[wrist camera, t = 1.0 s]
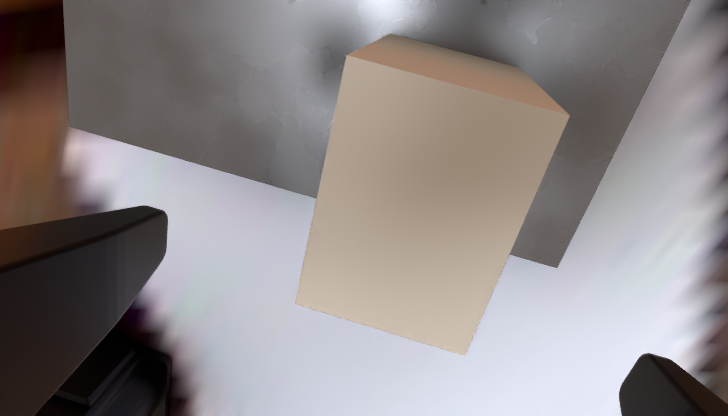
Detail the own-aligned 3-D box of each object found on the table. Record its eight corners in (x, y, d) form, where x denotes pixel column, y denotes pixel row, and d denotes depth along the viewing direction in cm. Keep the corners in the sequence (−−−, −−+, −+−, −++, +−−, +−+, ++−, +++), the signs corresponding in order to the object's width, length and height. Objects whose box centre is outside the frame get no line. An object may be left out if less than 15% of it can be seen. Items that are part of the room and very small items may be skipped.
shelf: (553, 258, 21) (569, 300, 18) (82, 122, 22) (26, 140, 19) (720, -82, 15) (784, -103, 12) (67, -239, 16) (-15, -290, 13)
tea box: (519, 68, 17) (570, 115, 10) (460, 229, 20) (464, 355, 13) (386, 32, 17) (340, 53, 10) (347, 196, 20) (290, 302, 13)
